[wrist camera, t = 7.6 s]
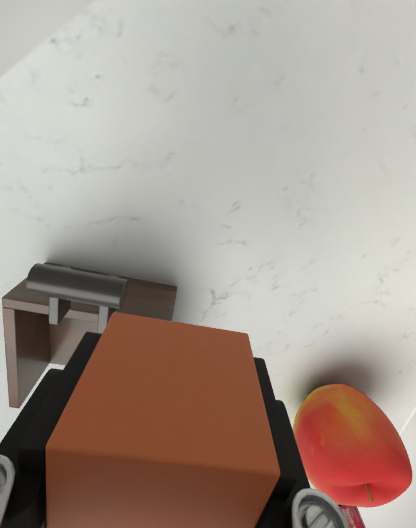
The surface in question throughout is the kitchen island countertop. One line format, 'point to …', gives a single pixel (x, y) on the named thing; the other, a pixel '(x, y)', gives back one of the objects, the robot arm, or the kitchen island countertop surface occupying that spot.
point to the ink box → (353, 516)
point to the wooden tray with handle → (67, 316)
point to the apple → (350, 447)
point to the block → (162, 432)
